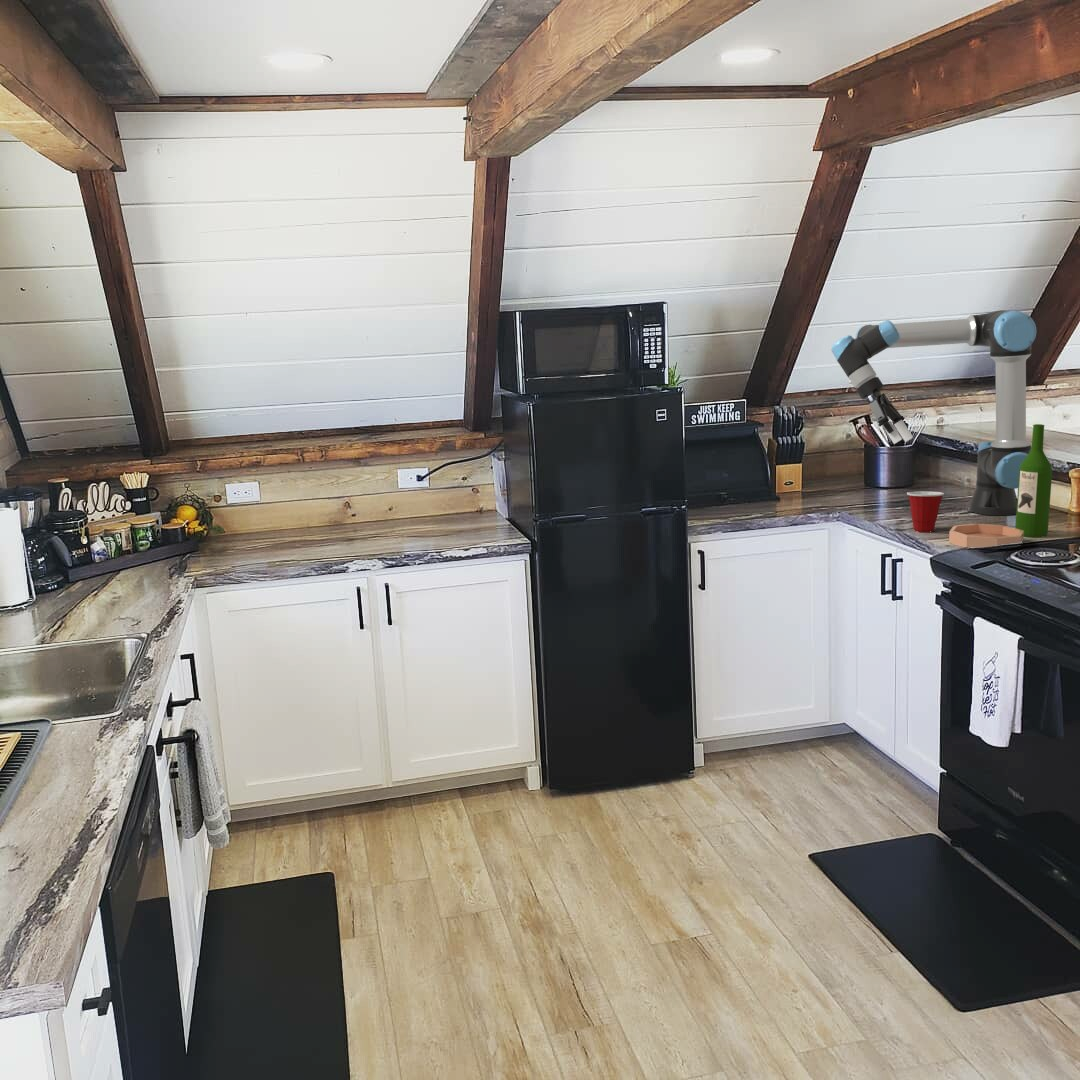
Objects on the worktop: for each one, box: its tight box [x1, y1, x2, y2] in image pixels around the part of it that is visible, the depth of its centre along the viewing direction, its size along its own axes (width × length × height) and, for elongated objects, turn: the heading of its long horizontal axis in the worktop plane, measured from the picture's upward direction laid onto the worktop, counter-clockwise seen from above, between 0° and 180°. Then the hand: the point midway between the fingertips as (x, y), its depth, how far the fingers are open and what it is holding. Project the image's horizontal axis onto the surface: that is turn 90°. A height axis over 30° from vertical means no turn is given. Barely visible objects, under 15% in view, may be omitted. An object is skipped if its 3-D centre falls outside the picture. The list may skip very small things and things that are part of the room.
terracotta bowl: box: [948, 523, 1024, 548], centre depth 323 cm, size 19×19×4 cm
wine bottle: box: [1014, 423, 1053, 538], centre depth 329 cm, size 9×9×32 cm
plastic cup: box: [906, 491, 945, 533], centre depth 340 cm, size 11×11×12 cm
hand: (904, 440), depth 341 cm, fingers open, 13 cm apart
